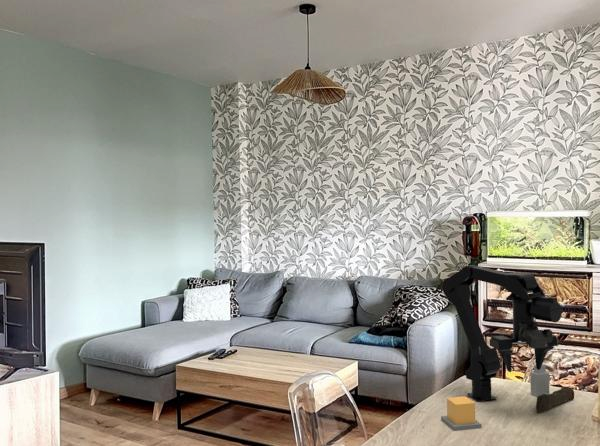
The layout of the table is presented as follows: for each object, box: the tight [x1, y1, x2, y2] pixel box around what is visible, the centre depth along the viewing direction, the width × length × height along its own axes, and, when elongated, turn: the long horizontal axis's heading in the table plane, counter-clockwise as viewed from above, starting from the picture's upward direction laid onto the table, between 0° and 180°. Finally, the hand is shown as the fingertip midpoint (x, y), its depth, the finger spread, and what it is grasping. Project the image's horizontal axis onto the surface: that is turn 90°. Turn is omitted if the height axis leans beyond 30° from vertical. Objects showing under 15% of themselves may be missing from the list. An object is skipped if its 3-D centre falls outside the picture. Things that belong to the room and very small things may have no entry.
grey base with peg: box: [440, 415, 482, 431], centre depth 154 cm, size 8×8×5 cm
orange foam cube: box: [446, 395, 476, 425], centre depth 154 cm, size 6×6×6 cm
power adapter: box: [530, 362, 550, 398], centre depth 176 cm, size 3×5×12 cm, turn 111°
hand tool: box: [535, 386, 575, 414], centre depth 167 cm, size 19×4×5 cm, turn 126°
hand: (524, 370), depth 162 cm, fingers open, 9 cm apart
